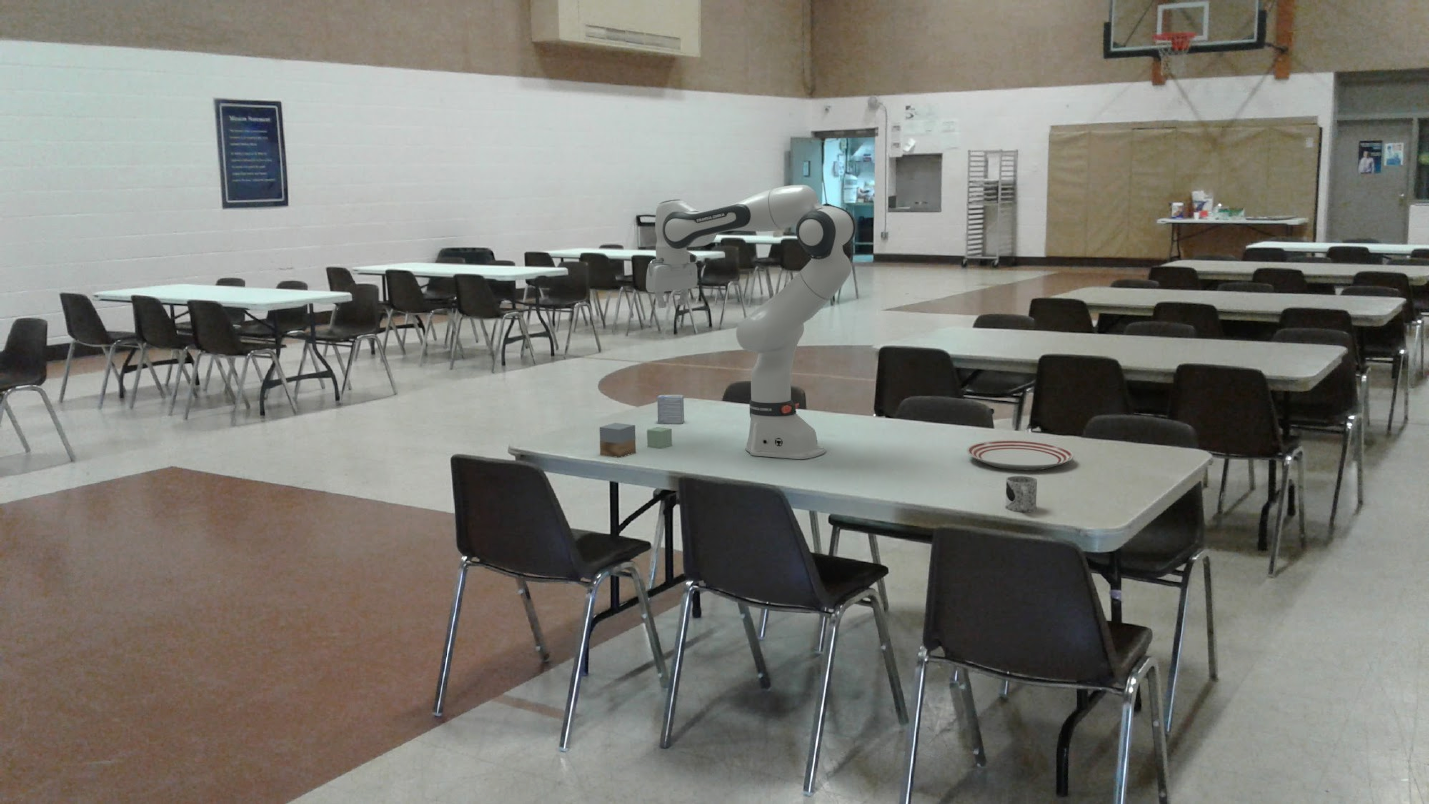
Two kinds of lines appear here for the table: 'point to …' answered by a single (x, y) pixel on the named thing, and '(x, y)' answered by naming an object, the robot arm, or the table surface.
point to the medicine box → (670, 409)
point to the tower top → (617, 433)
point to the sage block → (659, 437)
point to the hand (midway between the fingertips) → (672, 306)
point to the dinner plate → (1020, 454)
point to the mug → (1021, 493)
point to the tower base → (617, 448)
